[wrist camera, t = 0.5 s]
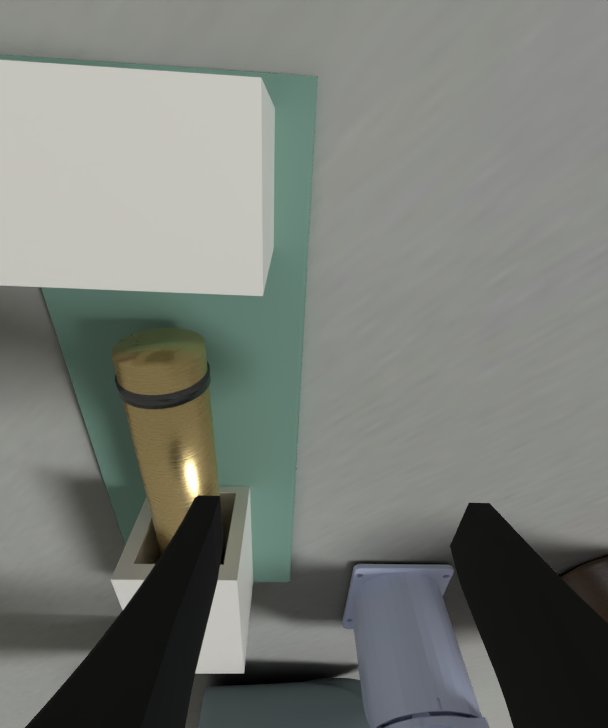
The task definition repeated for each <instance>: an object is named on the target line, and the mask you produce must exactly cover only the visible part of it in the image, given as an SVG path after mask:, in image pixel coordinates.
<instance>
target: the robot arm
mask: <svg viewBox="0 0 608 728" xmlns="http://www.w3.org/2000/svg"><path fill="white" fill-rule="evenodd" d="M222 548H223V528H222V515H221V501H220V496H206V495H198V496H197V497H195V498H194V500H193V502H192V504H191V506H190V508H189V510H188V512H187V513H186V515H185V517H184V519H183V521H182V522H181V524H180V526H179V527H178V529H177V531H176V532H175V534H174V536H173V537H172V539H171V541H170V542H169V544H168V546H167V547H166V549H165V550H164V552H163V553H162V555H161V556H160V558H159V559H158V561H157V562H156V564H155V565H154V567H153V569H152V570H151V572H150V573H149V575H148V576H147V577H146V579H145V580H144V582H143V583H142V584H141V586H140V587H139V589H138V590H137V591H136V593H135V594H134V596H133V597H132V598H131V600H130V601H129V603H128V604H127V605H126V607H125V608H124V610H123V611H122V612H121V614H120V615H119V616H118V618H117V619H116V620H115V621H114V623H113V624H112V625H111V627H110V628H109V629H108V631H107V632H106V633H105V634H104V636H103V637H102V638H101V639H100V641H99V642H98V643H97V644H96V646H95V647H94V648H93V649H92V651H91V652H90V653H89V654H88V656H87V657H86V658H85V659H84V660H83V662H82V663H81V664H80V665H79V666H78V668H77V669H76V670H75V671H74V672H73V673H72V675H71V676H70V677H69V678H68V679H67V680H66V682H65V683H64V684H63V685H62V686H61V688H60V689H59V690H58V691H57V692H56V693H55V695H54V696H53V697H52V698H51V699H50V700H49V701H48V702H47V704H46V705H45V706H44V707H43V708H42V709H41V710H40V712H39V713H38V714H37V715H36V716H35V717H34V718H33V719H32V720H31V722H30V723H29V724H28V725H27V726H26V727H25V728H185V724H186V718H187V712H188V706H189V700H190V695H191V690H192V685H193V681H194V676H195V672H196V668H197V663H198V659H199V655H200V651H201V647H202V643H203V639H204V635H205V631H206V627H207V622H208V618H209V614H210V610H211V606H212V602H213V598H214V594H215V589H216V585H217V581H218V575H219V568H220V562H221V555H222ZM450 548H451V551H452V555H453V559H454V563H455V567H456V570H457V574H458V577H459V581H460V584H461V587H462V590H463V592H464V595H465V597H466V600H467V603H468V605H469V608H470V610H471V613H472V615H473V618H474V620H475V623H476V625H477V628H478V630H479V633H480V635H481V638H482V640H483V643H484V645H485V648H486V651H487V653H488V656H489V658H490V661H491V663H492V666H493V668H494V671H495V673H496V676H497V678H498V681H499V684H500V687H501V690H502V692H503V695H504V698H505V701H506V704H507V708H508V711H509V714H510V717H511V720H512V724H513V727H514V728H608V623H607V622H606V621H605V620H604V619H603V618H602V617H601V616H600V615H599V614H598V613H596V612H595V611H594V610H593V609H592V608H591V607H590V606H589V605H588V604H587V603H586V602H585V601H584V600H583V599H582V598H581V597H580V596H579V595H578V594H577V593H576V592H575V591H574V590H572V589H571V588H570V587H569V586H568V585H567V584H566V583H565V582H564V581H563V580H562V579H561V578H560V577H559V576H558V575H557V574H556V573H555V572H554V570H553V569H552V568H551V567H550V566H549V565H548V564H547V563H546V562H545V561H544V560H543V559H542V558H541V557H540V556H539V555H538V554H537V553H536V552H535V551H534V550H533V549H532V548H531V547H530V546H529V545H528V544H527V542H526V541H525V540H524V539H523V538H522V537H521V536H520V535H519V534H518V533H517V532H516V531H515V530H514V529H513V528H512V527H511V526H510V524H509V523H508V522H507V521H506V520H505V519H504V518H503V517H502V516H501V515H500V514H499V513H498V512H497V511H496V510H495V509H494V508H493V507H492V506H491V505H490V504H489V503H469V504H468V506H467V508H466V511H465V513H464V515H463V518H462V520H461V522H460V524H459V527H458V529H457V531H456V534H455V536H454V538H453V540H452V543H451V545H450ZM453 573H454V570H453V567H452V566H451V565H435V564H357V565H355V566H354V568H353V572H352V577H351V582H350V587H349V592H348V596H347V601H346V606H345V611H344V616H343V621H342V624H343V627H344V628H347V629H354V634H355V642H356V650H357V658H358V666H359V674H360V682H361V690H362V699H363V706H364V711H365V715H366V718H367V720H368V723H369V725H370V728H489V725H488V722H487V719H486V718H485V717H482V715H481V712H480V709H479V706H478V703H477V700H476V697H475V694H474V691H473V688H472V685H471V682H470V679H469V676H468V673H467V670H466V667H465V664H464V661H463V657H462V654H461V651H460V648H459V645H458V642H457V639H456V636H455V633H454V630H453V627H452V624H451V621H450V618H449V615H448V612H447V609H446V606H445V603H444V600H443V595H444V593H445V590H446V588H447V586H448V584H449V582H450V579H451V577H452V575H453Z"/></svg>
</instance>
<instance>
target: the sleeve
mask: <svg viewBox="0 0 608 728" xmlns="http://www.w3.org/2000/svg"><path fill="white" fill-rule="evenodd" d="M219 491H220V501H221V511H222V522H223V532H224V542H225V552H226V554H225V560H224V565H220V568H219V575H218V581H217V585H216V589H215V594H214V598H213V602H212V606H211V610H210V614H209V618H208V622H207V627H206V631H205V635H204V639H203V643H202V647H201V651H200V655H199V659H198V663H197V668H196V672H195V674H239V673H244V670H245V660H246V650H247V639H248V629H249V619H250V609H251V599H252V588H253V560H252V532H251V504H250V487H248V486H219ZM160 556H161V552H160V548H159V544H158V540H157V536H156V532H155V528H154V524H153V520H152V516H151V512H150V508H149V504H148V500H147V497H146V499H145V501H144V504H143V506H142V508H141V511H140V513H139V515H138V518H137V520H136V522H135V525H134V527H133V529H132V531H131V534H130V536H129V538H128V541H127V543H126V545H125V548H124V550H123V552H122V555H121V557H120V559H119V561H118V564H117V566H116V568H115V571H114V573H113V575H112V578H111V582H112V584H113V587H114V590H115V592H116V595H117V597H118V600H119V602H120V605H121V608H122V610H124V608H125V607H126V605H127V604H128V603H129V601H130V600H131V598H132V597H133V596H134V594H135V593H136V591H137V590H138V589H139V587H140V586H141V584H142V583H143V582H144V580H145V579H146V577H147V576H148V575H149V573H150V572H151V570H152V569H153V567H154V565H155V564H156V562H157V561H158V559H159V558H160Z"/></svg>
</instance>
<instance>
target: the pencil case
mask: <svg viewBox="0 0 608 728" xmlns="http://www.w3.org/2000/svg"><path fill="white" fill-rule="evenodd" d="M198 728H370V725H369V723H368V720H367V718H366V715H365V711H364V706H363V699H362V690H361V682H360V680H356V679H349V678H323V679H314V680H310V681H306V682H297V683H278V684H257V685H235V686H208V687H206V689H205V691H204V695H203V700H202V705H201V711H200V718H199V725H198Z"/></svg>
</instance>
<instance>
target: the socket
mask: <svg viewBox="0 0 608 728" xmlns="http://www.w3.org/2000/svg"><path fill="white" fill-rule="evenodd" d="M274 151H275V107H274V105H273V103H272V100H271V98H270V96H269V94H268V91H267V89H266V87H265V85H264V82H263V80H262V78H261V77H247V76H233V75H218V74H203V73H188V72H174V71H159V70H144V69H130V68H115V67H100V66H85V65H71V64H56V63H41V62H26V61H12V60H0V285H2V286H27V287H51V288H75V289H99V290H124V291H148V292H172V293H196V294H221V295H245V296H263V293H264V289H265V285H266V280H267V276H268V271H269V267H270V262H271V258H272V254H273V249H274Z"/></svg>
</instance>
